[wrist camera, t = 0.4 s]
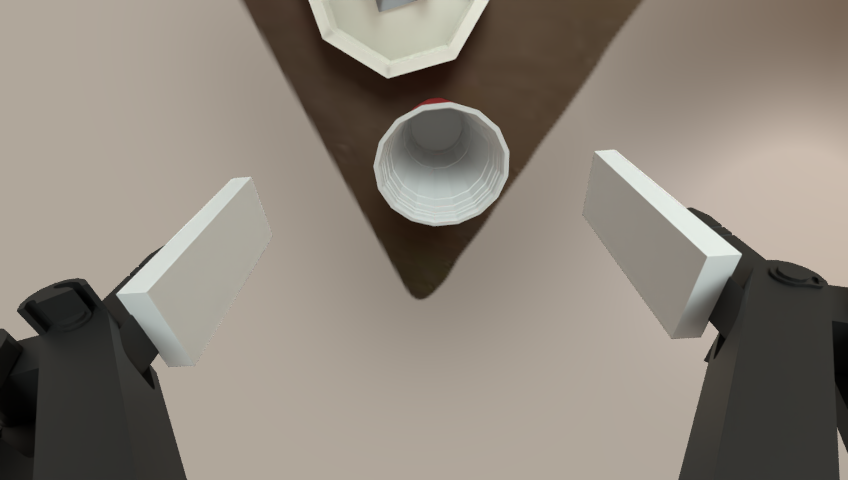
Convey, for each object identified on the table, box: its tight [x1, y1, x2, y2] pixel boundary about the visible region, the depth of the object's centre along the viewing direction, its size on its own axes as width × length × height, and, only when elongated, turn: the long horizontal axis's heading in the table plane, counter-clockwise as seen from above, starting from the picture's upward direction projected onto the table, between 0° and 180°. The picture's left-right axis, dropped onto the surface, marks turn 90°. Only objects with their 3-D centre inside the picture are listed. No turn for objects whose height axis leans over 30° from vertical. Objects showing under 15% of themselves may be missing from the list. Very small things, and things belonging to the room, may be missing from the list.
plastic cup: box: [374, 98, 509, 226], centre depth 34 cm, size 11×11×12 cm
